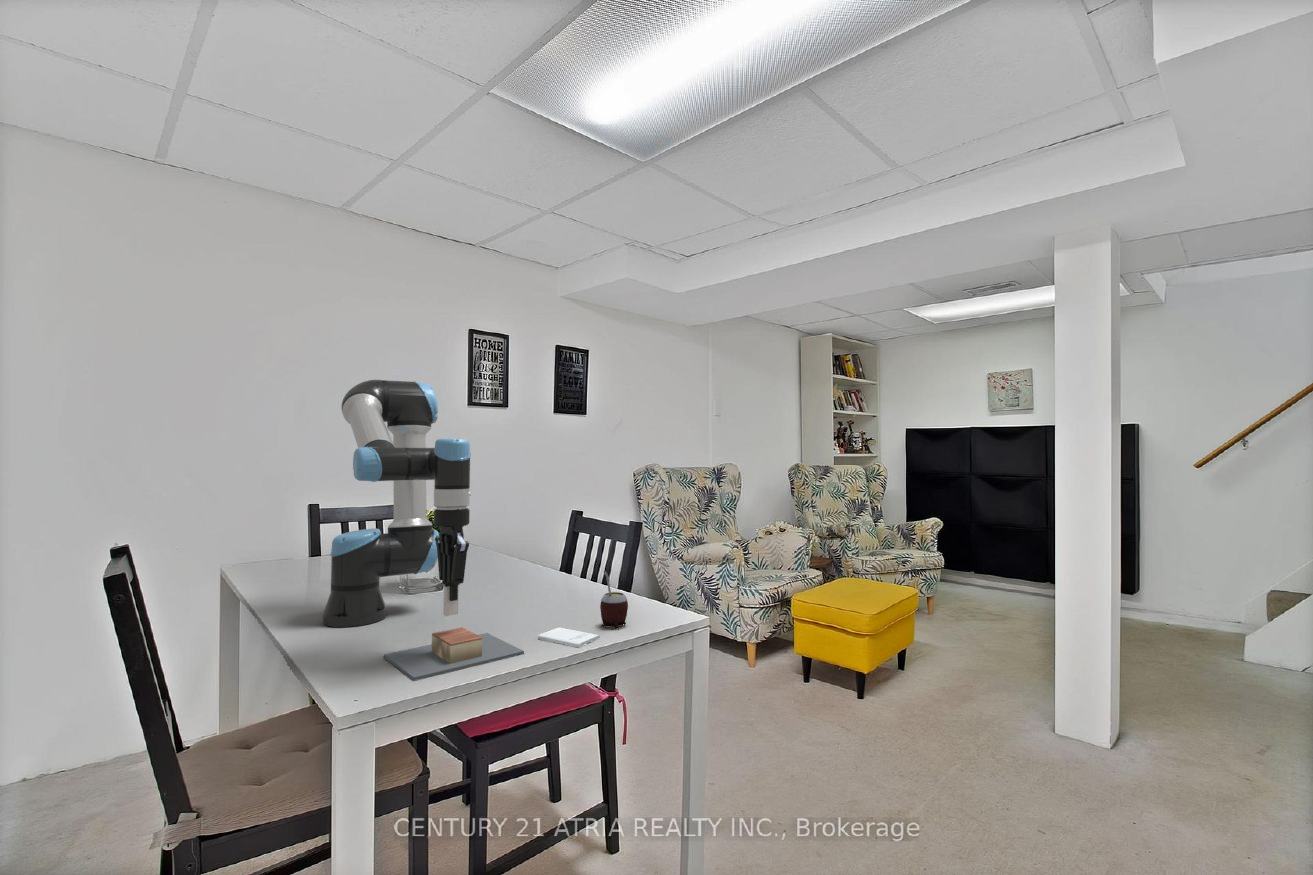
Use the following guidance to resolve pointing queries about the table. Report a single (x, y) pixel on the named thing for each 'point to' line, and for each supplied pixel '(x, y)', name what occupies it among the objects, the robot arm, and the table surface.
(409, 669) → the mat
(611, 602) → the mate gourd
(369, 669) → the table surface
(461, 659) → the face block
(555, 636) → the external hard drive
